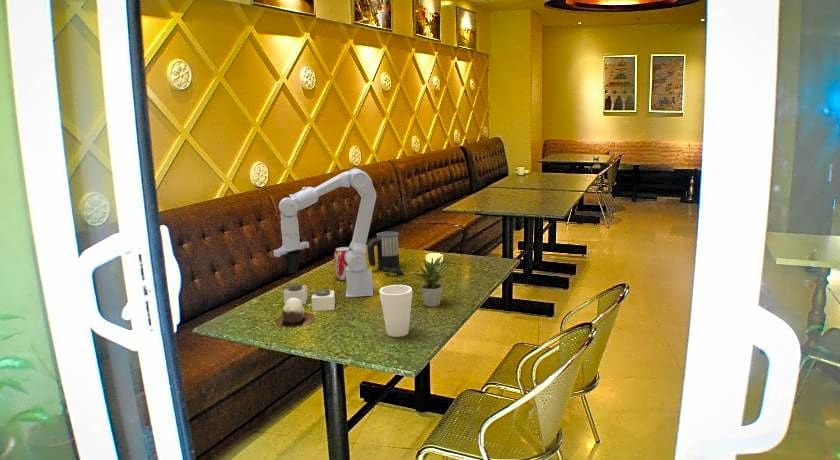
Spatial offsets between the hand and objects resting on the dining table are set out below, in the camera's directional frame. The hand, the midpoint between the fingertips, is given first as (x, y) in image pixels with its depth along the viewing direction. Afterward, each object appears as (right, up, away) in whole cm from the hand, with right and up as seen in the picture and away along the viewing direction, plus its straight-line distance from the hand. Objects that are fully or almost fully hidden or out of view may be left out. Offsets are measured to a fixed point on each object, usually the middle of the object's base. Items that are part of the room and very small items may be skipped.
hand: (293, 272), depth 194 cm
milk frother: (+32, -2, +35) cm, 47 cm away
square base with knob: (0, -10, +2) cm, 10 cm away
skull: (+4, -14, -16) cm, 22 cm away
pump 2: (+10, -10, -5) cm, 15 cm away
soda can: (+14, -5, +27) cm, 31 cm away
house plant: (+47, -10, -5) cm, 48 cm away
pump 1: (-1, -9, +2) cm, 9 cm away
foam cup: (+37, -16, -29) cm, 49 cm away
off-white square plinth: (+11, -11, -5) cm, 16 cm away
